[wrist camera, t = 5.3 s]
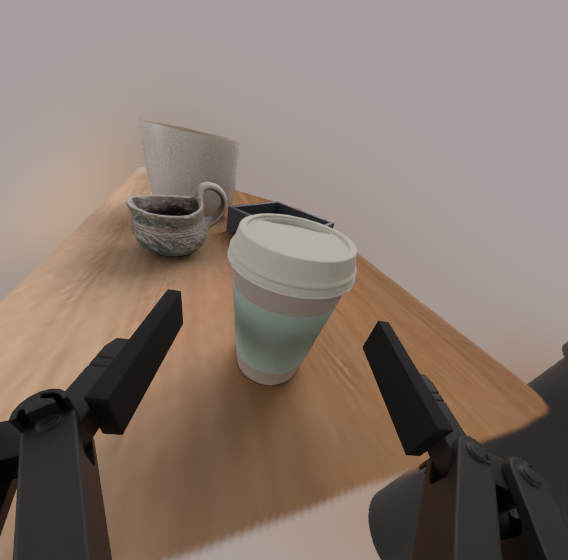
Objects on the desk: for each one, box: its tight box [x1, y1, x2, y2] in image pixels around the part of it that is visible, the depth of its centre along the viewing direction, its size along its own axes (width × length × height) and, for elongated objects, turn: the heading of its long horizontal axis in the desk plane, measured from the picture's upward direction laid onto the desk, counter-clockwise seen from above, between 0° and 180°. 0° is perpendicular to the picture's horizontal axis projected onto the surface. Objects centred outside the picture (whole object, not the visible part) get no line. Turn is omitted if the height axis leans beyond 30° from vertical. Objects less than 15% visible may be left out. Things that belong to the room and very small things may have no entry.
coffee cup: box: [227, 213, 357, 385], centre depth 17 cm, size 8×8×12 cm
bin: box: [227, 201, 334, 234], centre depth 44 cm, size 16×16×5 cm
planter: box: [139, 119, 240, 217], centre depth 44 cm, size 17×17×15 cm
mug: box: [126, 182, 228, 256], centre depth 31 cm, size 10×12×10 cm
